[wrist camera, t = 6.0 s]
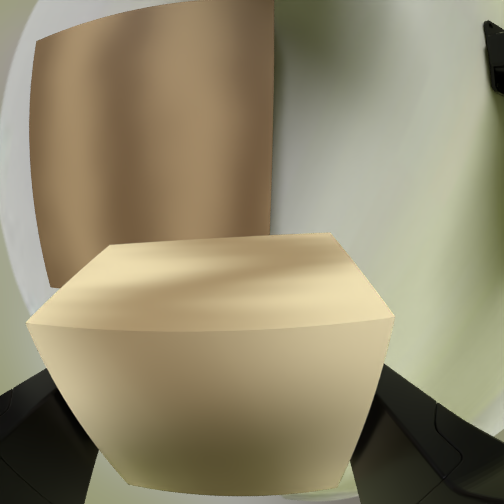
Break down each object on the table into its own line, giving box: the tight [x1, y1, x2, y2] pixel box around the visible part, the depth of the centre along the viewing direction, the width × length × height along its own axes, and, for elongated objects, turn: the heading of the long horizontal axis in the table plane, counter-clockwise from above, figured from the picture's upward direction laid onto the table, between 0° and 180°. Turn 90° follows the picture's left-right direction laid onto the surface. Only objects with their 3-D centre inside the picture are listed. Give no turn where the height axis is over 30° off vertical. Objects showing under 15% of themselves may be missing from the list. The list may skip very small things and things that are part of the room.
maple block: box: [26, 233, 395, 496], centre depth 7 cm, size 6×6×4 cm
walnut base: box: [29, 0, 274, 288], centre depth 15 cm, size 14×16×3 cm
